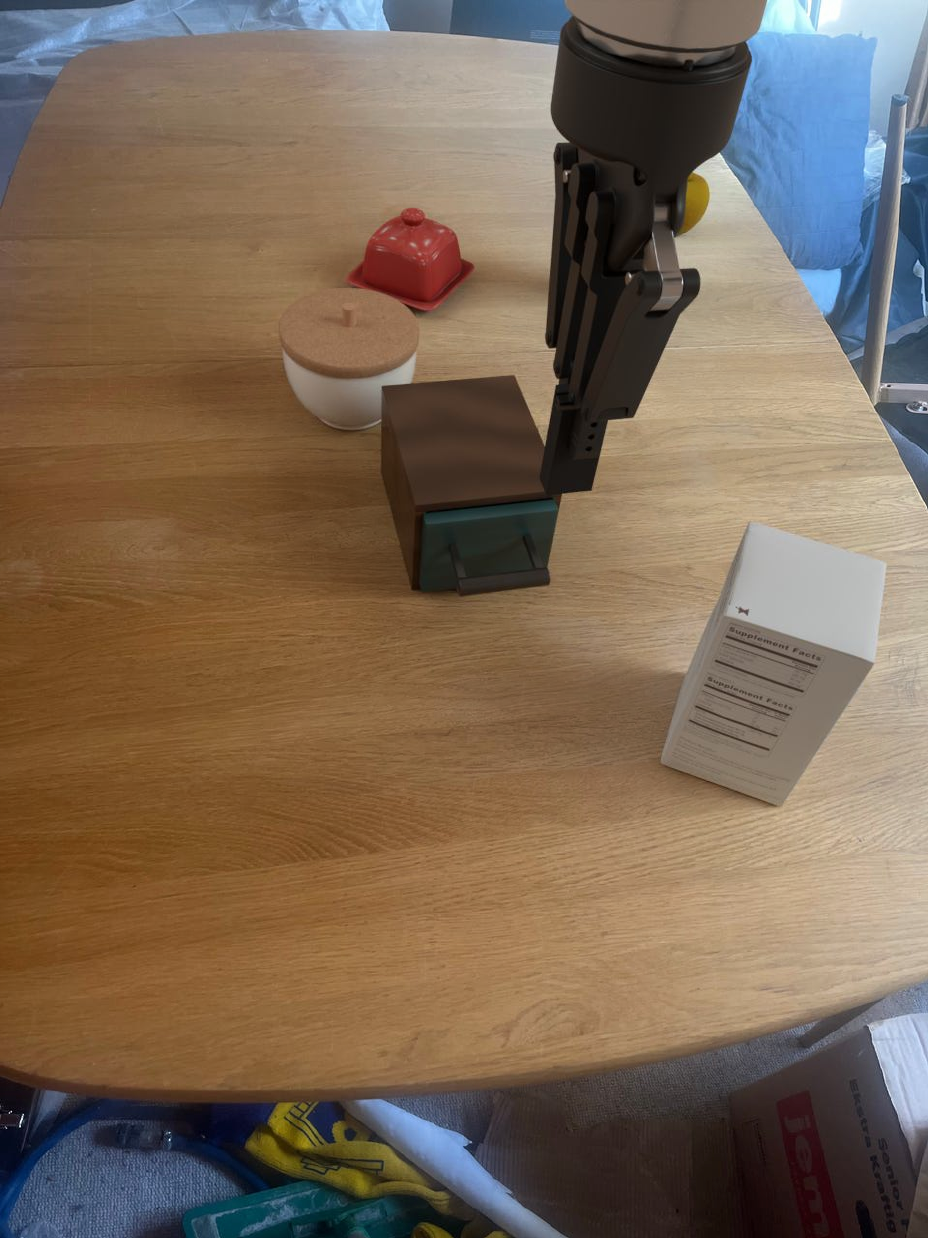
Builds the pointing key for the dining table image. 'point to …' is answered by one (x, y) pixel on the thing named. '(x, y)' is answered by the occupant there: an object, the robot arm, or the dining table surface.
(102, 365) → the dining table surface
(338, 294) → the lidded bowl
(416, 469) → the cabinet
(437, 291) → the butter dish
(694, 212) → the apple
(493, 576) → the drawer
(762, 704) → the supplement box
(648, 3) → the robot arm
